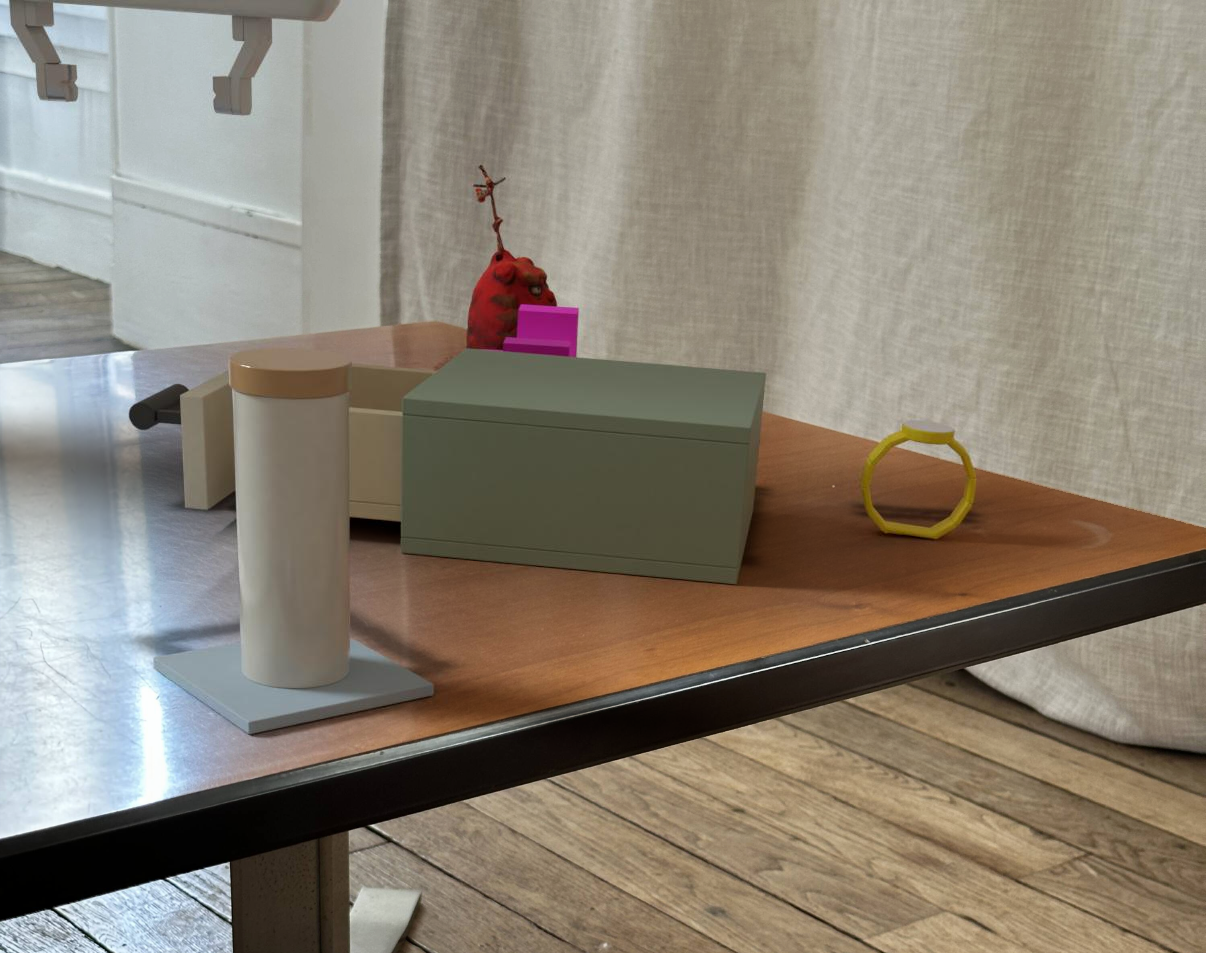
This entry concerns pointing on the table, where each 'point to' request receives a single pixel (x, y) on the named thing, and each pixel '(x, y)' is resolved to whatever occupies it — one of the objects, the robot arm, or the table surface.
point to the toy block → (545, 331)
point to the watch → (928, 435)
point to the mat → (268, 708)
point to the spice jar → (292, 514)
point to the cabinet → (582, 464)
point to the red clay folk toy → (502, 289)
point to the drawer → (213, 437)
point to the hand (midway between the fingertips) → (145, 107)
